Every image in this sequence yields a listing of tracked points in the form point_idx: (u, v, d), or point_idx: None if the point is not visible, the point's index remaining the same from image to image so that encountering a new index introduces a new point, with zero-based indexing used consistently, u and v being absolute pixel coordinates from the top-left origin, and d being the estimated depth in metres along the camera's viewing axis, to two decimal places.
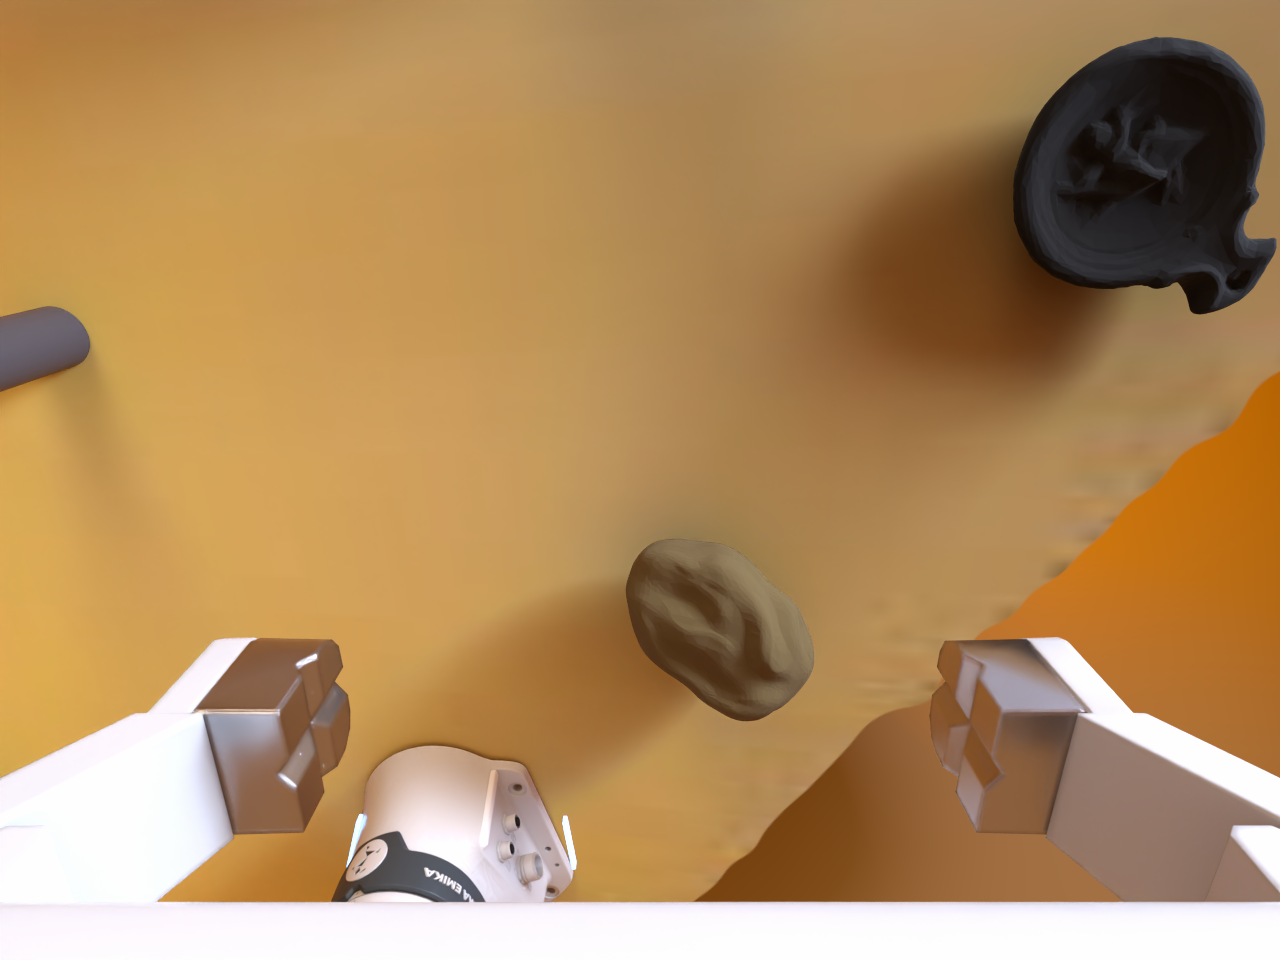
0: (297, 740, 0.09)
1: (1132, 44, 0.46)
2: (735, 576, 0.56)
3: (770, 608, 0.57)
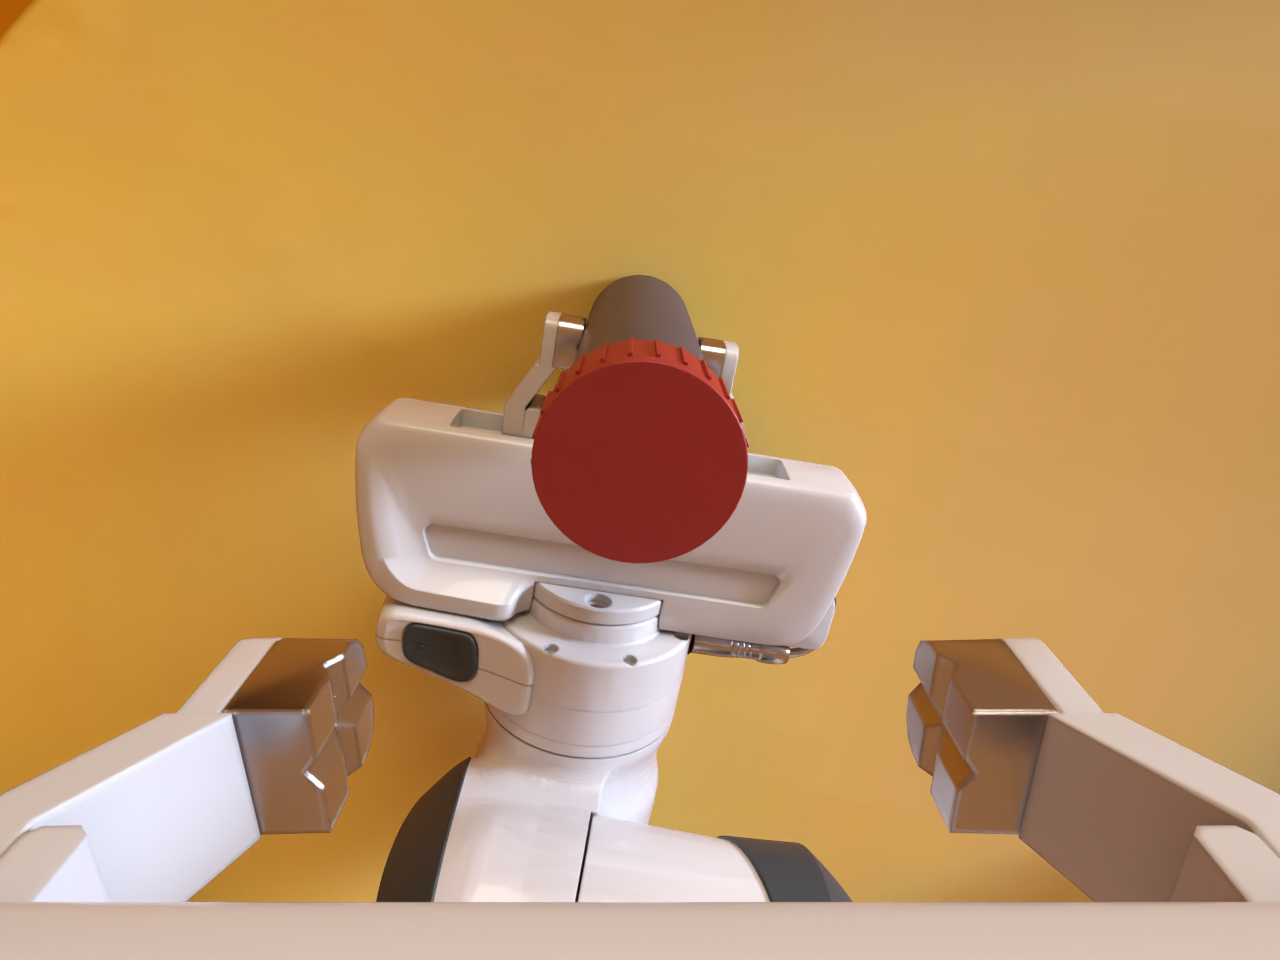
0: (324, 740, 0.09)
1: None
2: None
3: None
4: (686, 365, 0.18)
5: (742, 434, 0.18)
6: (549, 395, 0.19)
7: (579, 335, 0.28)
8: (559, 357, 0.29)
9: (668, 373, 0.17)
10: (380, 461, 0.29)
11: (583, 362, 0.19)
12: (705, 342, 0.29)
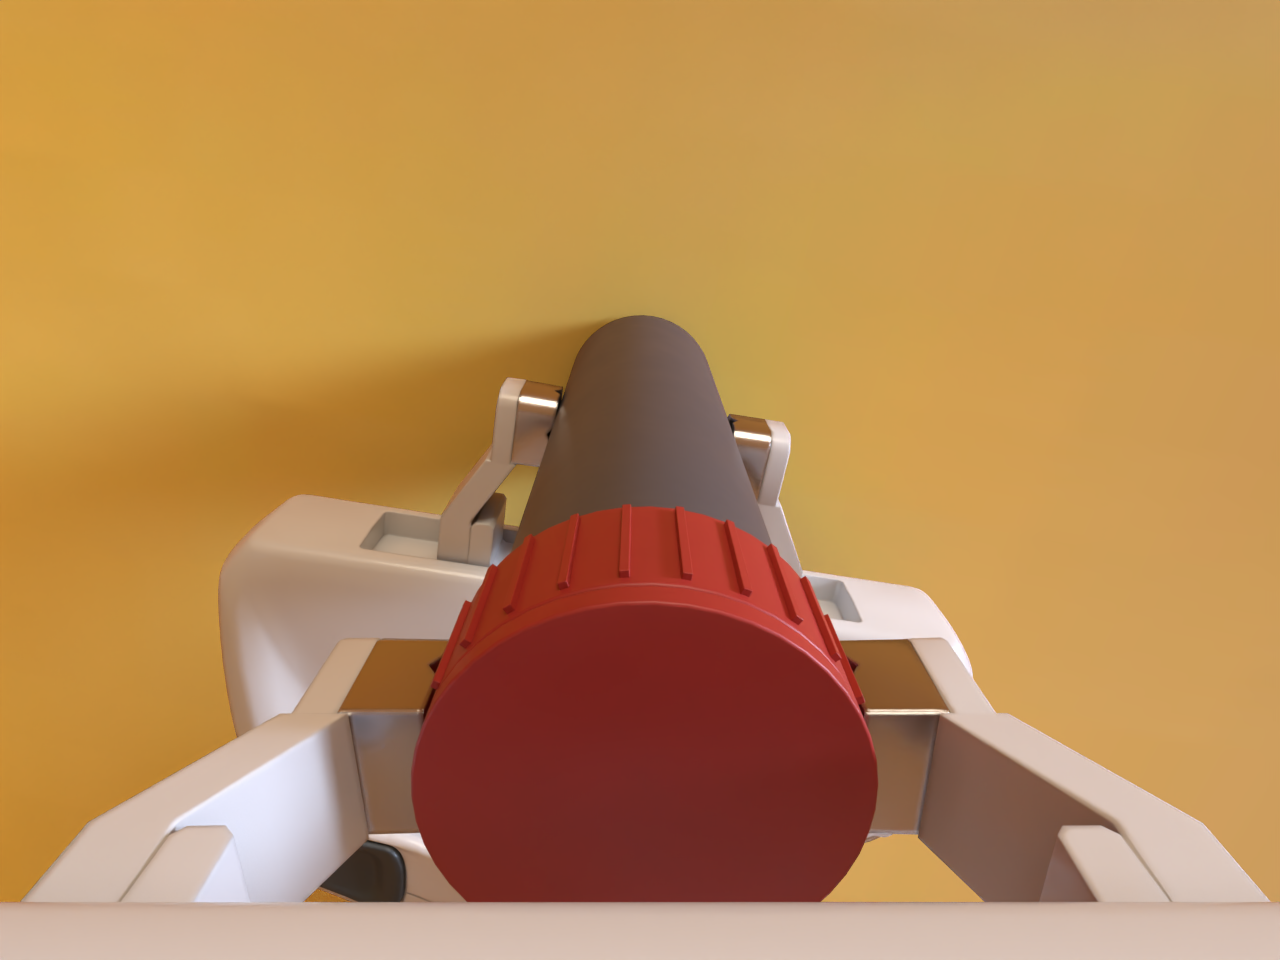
0: None
1: None
2: None
3: None
4: (748, 596, 0.08)
5: (870, 744, 0.08)
6: (463, 617, 0.10)
7: (550, 417, 0.19)
8: (521, 449, 0.19)
9: (710, 627, 0.08)
10: (253, 602, 0.20)
11: (528, 564, 0.09)
12: (740, 425, 0.19)
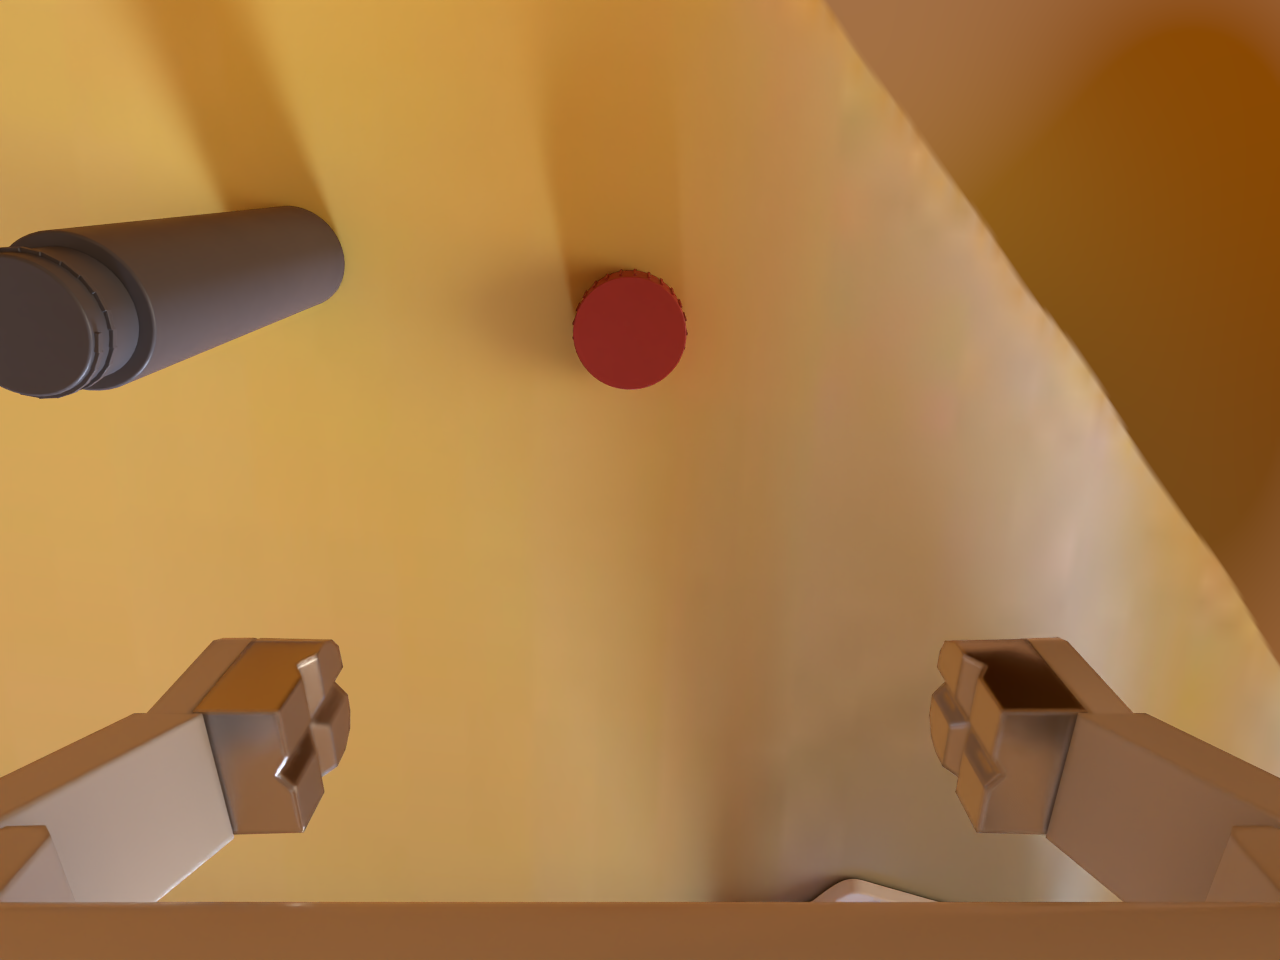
0: (297, 740, 0.09)
1: None
2: None
3: None
4: (672, 295, 0.35)
5: (685, 339, 0.35)
6: (596, 282, 0.36)
7: None
8: None
9: (663, 294, 0.34)
10: None
11: (622, 272, 0.35)
12: None
